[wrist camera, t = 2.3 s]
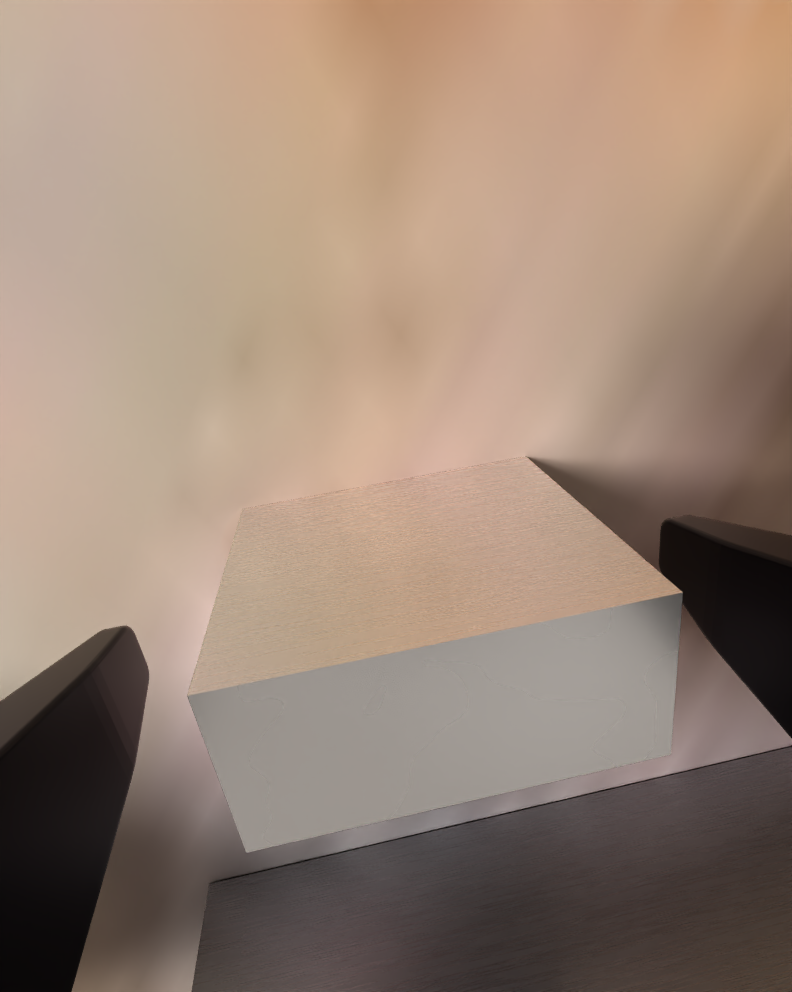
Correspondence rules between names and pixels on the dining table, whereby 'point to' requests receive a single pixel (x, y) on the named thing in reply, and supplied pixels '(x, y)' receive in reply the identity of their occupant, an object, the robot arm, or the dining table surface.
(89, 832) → the robot arm
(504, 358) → the dining table surface
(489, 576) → the light grey block
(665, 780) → the cash box
